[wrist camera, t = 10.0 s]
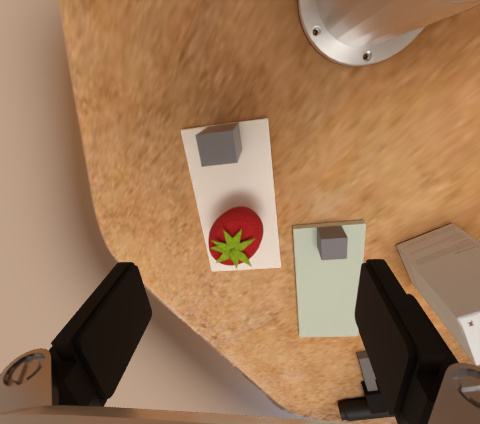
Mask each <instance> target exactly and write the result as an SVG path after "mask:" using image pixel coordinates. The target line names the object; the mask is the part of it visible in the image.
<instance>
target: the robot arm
mask: <svg viewBox="0 0 480 424" xmlns="http://www.w3.org/2000/svg"><path fill="white" fill-rule="evenodd" d="M478 5H480V0H298V10H299V15H300V20H301V24H302V27H303V29H304V32H305V34H306V37H307V38H308V40H309V41H310V43H311V44H312V46H313V47H314V48H315V49H316V50H317V51H318V52H319V53H320V54H321V55H322V56H324V57H325V58H327V59H328V60H330V61H331V62H334V63H337V64H340V65H343V66H352V67H357V66H367V65H371V64H375V63H378V62H381V61H383V60H386V59H388V58H390V57H392V56H393V55H395V54H397V53H398V52H400V51H401V50H403V49H404V48H405V47H406V46H407V45H409V44H410V43H411V42H412V41H413V40H414V39H415V38H416V37H417V36H418V35H419V34H420V32H421V31H422V30H423V29H424V28H425V27H426V26H427V25H429V24H432V23H434V22H437V21H440V20H442V19H445V18H447V17H450V16H452V15H455V14H458V13H460V12H463V11H465V10H468V9H470V8H473V7H476V6H478ZM313 30H317V32H318V33H317V35H316V36H315V35H313ZM364 54H366V55H367V58H366V59H365V60H364V59H363V55H364ZM151 316H152V309H151V306H150V303H149V300H148V297H147V294H146V291H145V288H144V284H143V281H142V278H141V275H140V272H139V269H138V267H137V266H136V265H134V263H132V262H119V263H117V264H116V266H115V267H114V268H113V269H112V270H111V272H110V273H109V274H108V275H107V276H106V278H105V279H104V280H103V281H102V282H101V284H100V285H99V286H98V287H97V288H96V290H95V291H94V292H93V293H92V295H91V296H90V297H89V298H88V299H87V300H86V302H85V303H84V304H83V305H82V306H81V308H80V309H79V310H78V311H77V312H76V314H75V315H74V316H73V317H72V318H71V320H70V321H69V322H68V323H67V324H66V326H65V327H64V328H63V329H62V330H61V332H60V333H59V334H58V335H57V336H56V338H55V339H54V340H53V341H52V343H51V344H52V345H53V346H52V347H51V348H50V350H49V351H48V350H47V349H34V350H31V351H29V352H26V353H24V354H23V355H21V356H19V357H18V358H16V359H15V360H14V361H12V362H11V363H10V364H9V365H8V366H7V367H6V368H5V369H4V370H3V372H2V373H1V374H0V424H357V423H346V422H334V421H320V420H306V419H305V420H304V419H290V418H277V417H263V416H248V415H232V414H216V413H201V412H200V413H199V412H184V411H168V410H151V409H150V410H149V409H134V408H133V409H132V408H116V407H104V405H105V403H106V401H107V399H108V398H110V397H111V396H112V395H113V393H114V392H115V390H116V387H117V386H118V384H119V381H120V380H121V378H122V375H123V373H124V372H125V370H126V367H127V366H128V363H129V361H130V359H131V357H132V355H133V353H134V351H135V349H136V347H137V345H138V343H139V341H140V339H141V337H142V335H143V333H144V331H145V329H146V327H147V325H148V323H149V321H150V319H151ZM355 321H356V324H357V327H358V330H359V333H360V335H361V338H362V341H363V344H364V347H365V349H366V352H367V355H368V358H369V361H370V363H371V366H372V369H373V372H374V374H375V377H376V380H377V383H378V386H379V388H380V391H381V394H382V397H383V399H384V402H385V405H386V408H387V410H388V412H389V414H390V415H395V418H396V420H397V423H398V424H480V367H477V366H475V365H472V364H467V363H459V362H458V361H457V359H456V358H455V356H454V355H453V353H452V352H451V350H450V349H449V348H448V346H447V345H446V343H445V342H444V340H443V339H442V337H441V336H440V334H439V333H438V331H437V330H436V328H435V327H434V325H433V324H432V322H431V321H430V319H429V318H428V316H427V315H426V313H425V312H424V310H423V309H422V307H421V306H420V304H419V303H418V302H417V300H416V299H415V298H414V296H413V295H411V294H406V293H405V291H404V289H403V288H402V286H401V285H400V283H399V282H398V280H397V279H396V277H395V276H394V274H393V272H392V271H391V269H390V268H389V266H388V265H387V263H386V262H385V260H383V259H368V260H367V261H366V263H362V265H361V270H360V277H359V285H358V292H357V299H356V306H355Z"/></svg>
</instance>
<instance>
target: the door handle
mask: <svg viewBox="0 0 480 424" xmlns="http://www.w3.org/2000/svg"><path fill="white" fill-rule="evenodd" d="M357 356H358V360H359V363H360V367H361V371H362V374H363V378H364V381H362V382H361V383H362V387H363V390H364V394H365V397H366V399H358V400H350V401H343V402H342V403H339V404H338V407H339V411H340V415H341V419H342V420H347V421H355V420H365V419H375V418H384V417H394V416H395V415H390V414H389V412H388V410H387V408H386V405H385V402H384V399H383V397H382V394H381V391H380V388H379V386H378V383H377V380H375V377H374V373H373V370H372V366H371V363H370V361H369V358H368V355H367V352H366V351H360V352H357Z"/></svg>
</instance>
